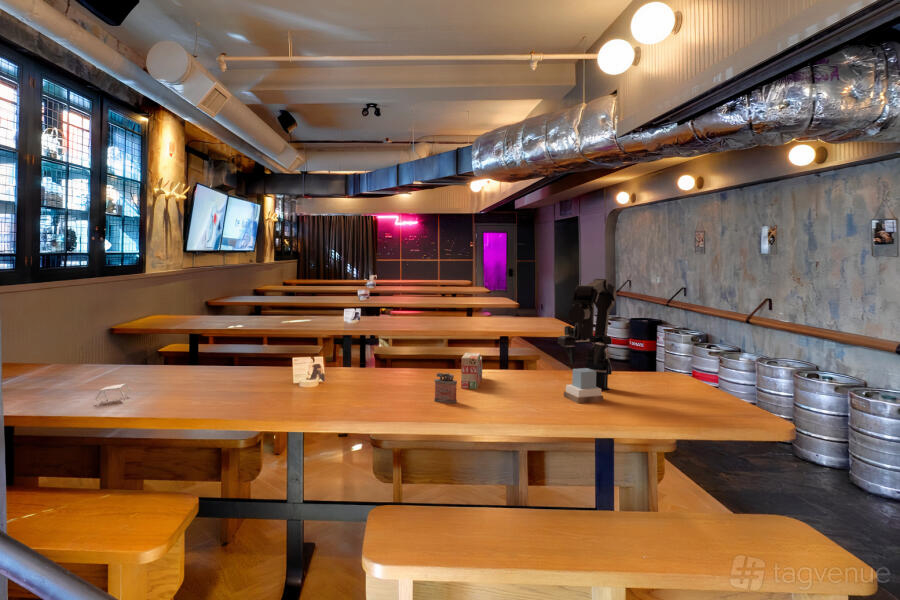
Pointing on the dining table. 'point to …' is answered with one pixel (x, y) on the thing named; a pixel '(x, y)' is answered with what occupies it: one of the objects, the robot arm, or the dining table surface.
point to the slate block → (584, 378)
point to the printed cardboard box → (471, 370)
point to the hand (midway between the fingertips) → (584, 364)
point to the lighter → (445, 388)
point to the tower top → (583, 391)
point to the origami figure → (113, 389)
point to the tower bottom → (583, 398)
